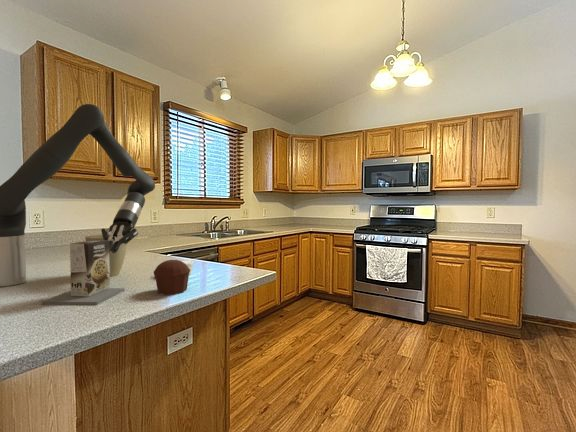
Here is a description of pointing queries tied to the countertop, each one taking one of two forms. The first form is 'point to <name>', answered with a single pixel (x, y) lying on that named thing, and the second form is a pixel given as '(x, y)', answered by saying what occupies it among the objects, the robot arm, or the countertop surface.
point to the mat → (82, 298)
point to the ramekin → (188, 264)
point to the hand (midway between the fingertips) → (110, 251)
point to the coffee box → (89, 267)
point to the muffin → (171, 277)
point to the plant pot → (112, 255)
